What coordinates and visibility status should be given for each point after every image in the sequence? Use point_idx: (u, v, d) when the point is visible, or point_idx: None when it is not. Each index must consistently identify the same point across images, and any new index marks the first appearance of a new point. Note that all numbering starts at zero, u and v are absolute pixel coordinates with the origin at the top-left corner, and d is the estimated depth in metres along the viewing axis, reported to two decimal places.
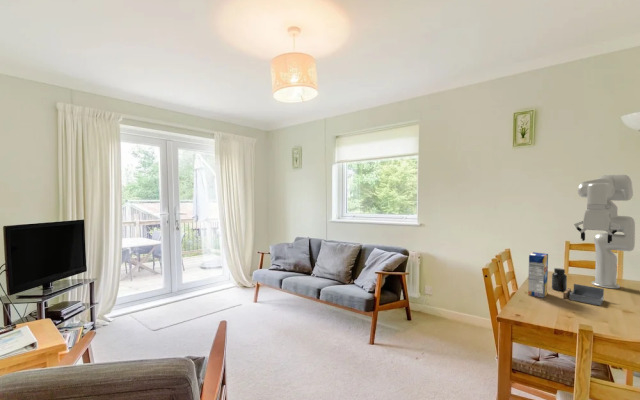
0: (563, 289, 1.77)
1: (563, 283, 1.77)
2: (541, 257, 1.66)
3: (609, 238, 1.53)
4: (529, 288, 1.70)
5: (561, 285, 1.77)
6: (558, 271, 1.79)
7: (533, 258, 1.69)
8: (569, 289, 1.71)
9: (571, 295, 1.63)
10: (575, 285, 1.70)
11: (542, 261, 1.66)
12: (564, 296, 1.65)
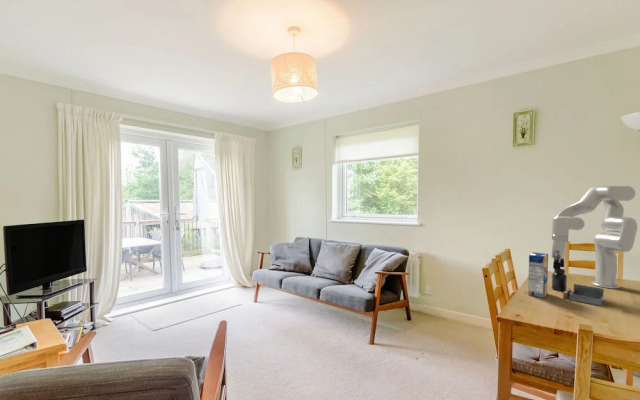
0: (563, 289, 1.77)
1: (563, 283, 1.77)
2: (541, 257, 1.66)
3: None
4: (529, 288, 1.70)
5: (561, 285, 1.77)
6: (558, 271, 1.79)
7: (533, 258, 1.69)
8: (569, 289, 1.71)
9: (571, 295, 1.63)
10: (575, 285, 1.70)
11: (542, 261, 1.66)
12: (564, 296, 1.65)
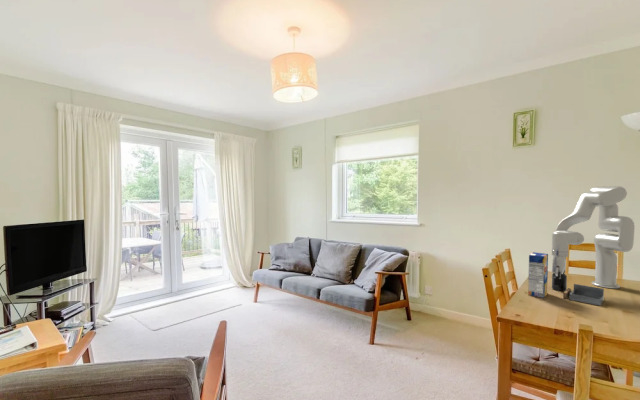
0: (563, 289, 1.77)
1: (563, 283, 1.77)
2: (541, 257, 1.66)
3: None
4: (529, 288, 1.70)
5: (561, 285, 1.77)
6: None
7: (533, 258, 1.69)
8: (569, 289, 1.71)
9: (571, 295, 1.63)
10: (575, 285, 1.70)
11: (542, 261, 1.66)
12: (564, 296, 1.65)
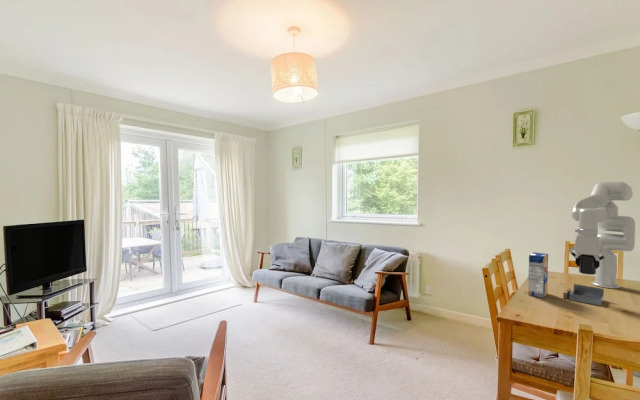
0: None
1: None
2: (541, 257, 1.66)
3: None
4: (529, 288, 1.70)
5: None
6: None
7: (533, 258, 1.69)
8: (569, 289, 1.71)
9: (571, 295, 1.63)
10: (575, 285, 1.70)
11: (542, 261, 1.66)
12: (564, 296, 1.65)
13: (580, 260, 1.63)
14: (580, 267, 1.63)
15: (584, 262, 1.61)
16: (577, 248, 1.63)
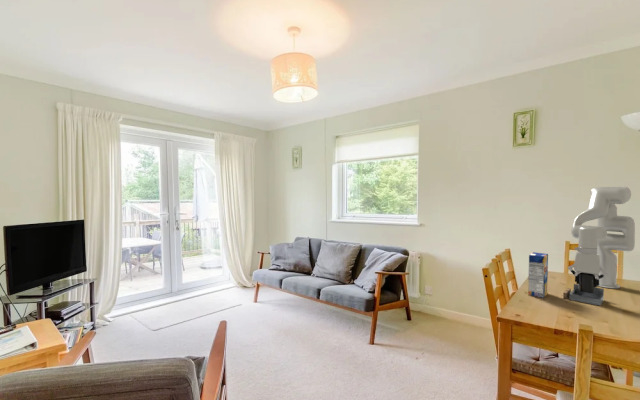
0: None
1: None
2: (541, 257, 1.66)
3: None
4: (529, 288, 1.70)
5: None
6: None
7: (533, 258, 1.69)
8: (569, 289, 1.71)
9: (571, 295, 1.63)
10: (575, 285, 1.70)
11: (542, 261, 1.66)
12: (564, 296, 1.65)
13: (580, 278, 1.63)
14: (580, 285, 1.63)
15: (583, 280, 1.61)
16: (577, 266, 1.63)
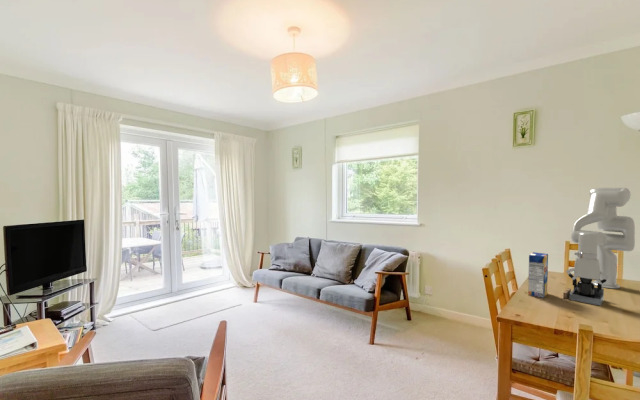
0: None
1: None
2: (541, 257, 1.66)
3: None
4: (529, 288, 1.70)
5: None
6: (591, 279, 1.61)
7: (533, 258, 1.69)
8: (569, 289, 1.71)
9: (571, 295, 1.63)
10: None
11: (542, 261, 1.66)
12: (564, 296, 1.65)
13: (579, 286, 1.63)
14: (579, 293, 1.63)
15: (582, 289, 1.62)
16: (576, 271, 1.64)
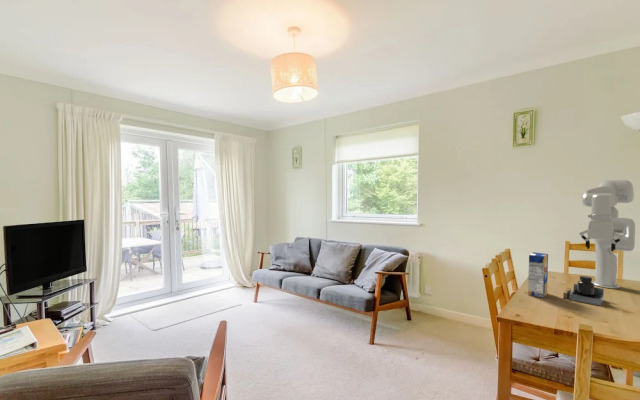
0: None
1: None
2: (541, 257, 1.66)
3: None
4: (529, 288, 1.70)
5: None
6: (591, 279, 1.61)
7: (533, 258, 1.69)
8: (569, 289, 1.71)
9: (571, 295, 1.63)
10: (575, 285, 1.70)
11: (542, 261, 1.66)
12: (564, 296, 1.65)
13: (579, 286, 1.63)
14: (579, 293, 1.63)
15: (582, 289, 1.62)
16: (590, 233, 1.67)
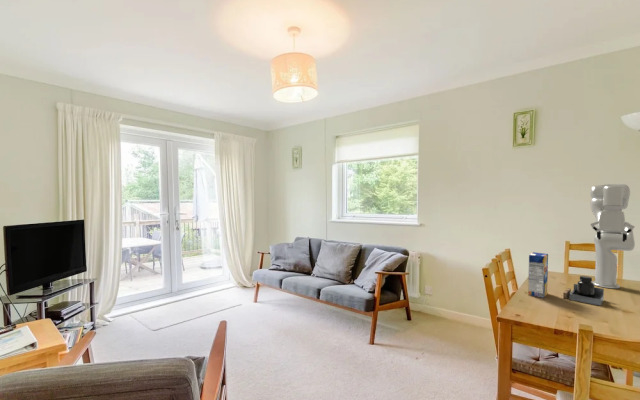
0: None
1: None
2: (541, 257, 1.66)
3: None
4: (529, 288, 1.70)
5: None
6: (591, 279, 1.61)
7: (533, 258, 1.69)
8: (569, 289, 1.71)
9: (571, 295, 1.63)
10: (575, 285, 1.70)
11: (542, 261, 1.66)
12: (564, 296, 1.65)
13: (579, 286, 1.63)
14: (579, 293, 1.63)
15: (582, 289, 1.62)
16: (601, 223, 1.70)
